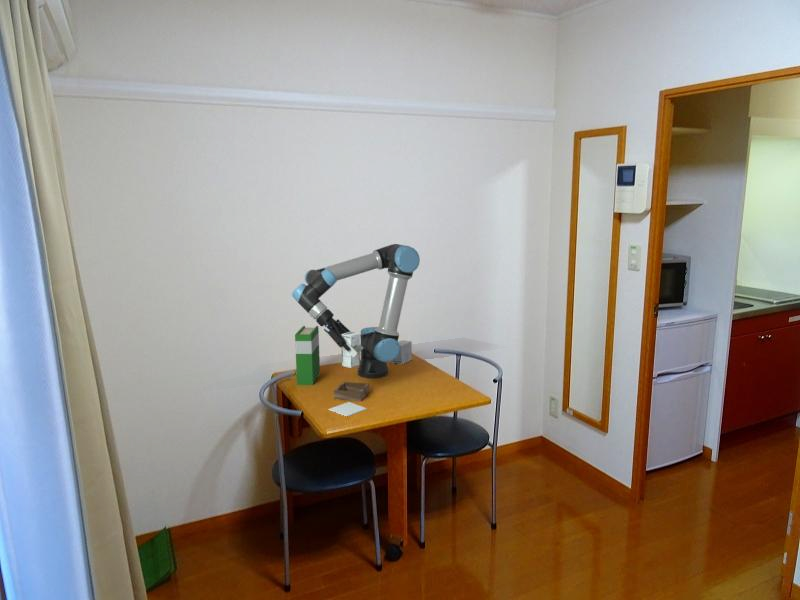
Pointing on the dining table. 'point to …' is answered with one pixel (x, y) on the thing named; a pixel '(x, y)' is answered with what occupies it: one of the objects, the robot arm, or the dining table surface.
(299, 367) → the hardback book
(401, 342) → the skincare box
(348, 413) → the grey mat
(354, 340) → the syrup box
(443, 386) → the dining table surface
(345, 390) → the walnut crate
